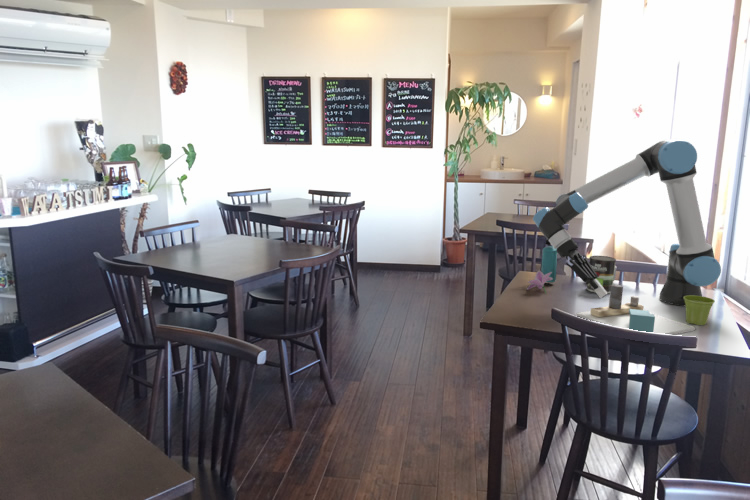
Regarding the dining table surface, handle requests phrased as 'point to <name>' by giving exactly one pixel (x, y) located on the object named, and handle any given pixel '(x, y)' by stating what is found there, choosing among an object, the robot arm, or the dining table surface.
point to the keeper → (641, 320)
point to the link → (616, 304)
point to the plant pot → (697, 309)
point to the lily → (539, 280)
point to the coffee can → (603, 271)
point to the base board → (623, 319)
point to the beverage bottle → (549, 261)
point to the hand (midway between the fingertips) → (603, 295)
